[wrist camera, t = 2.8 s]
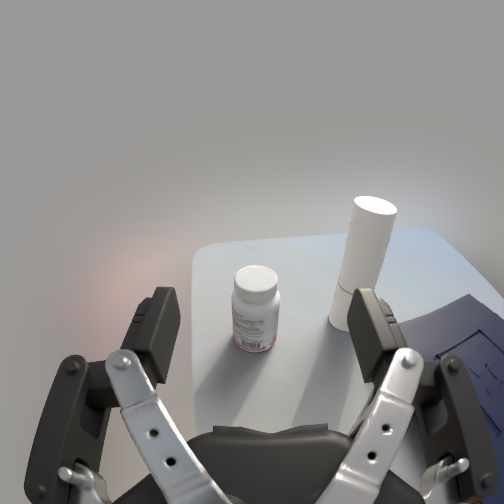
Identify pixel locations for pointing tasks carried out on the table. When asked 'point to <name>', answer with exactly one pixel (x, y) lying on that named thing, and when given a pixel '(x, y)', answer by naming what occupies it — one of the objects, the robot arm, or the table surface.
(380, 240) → the tube
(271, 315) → the pill bottle
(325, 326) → the table surface
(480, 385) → the papers
